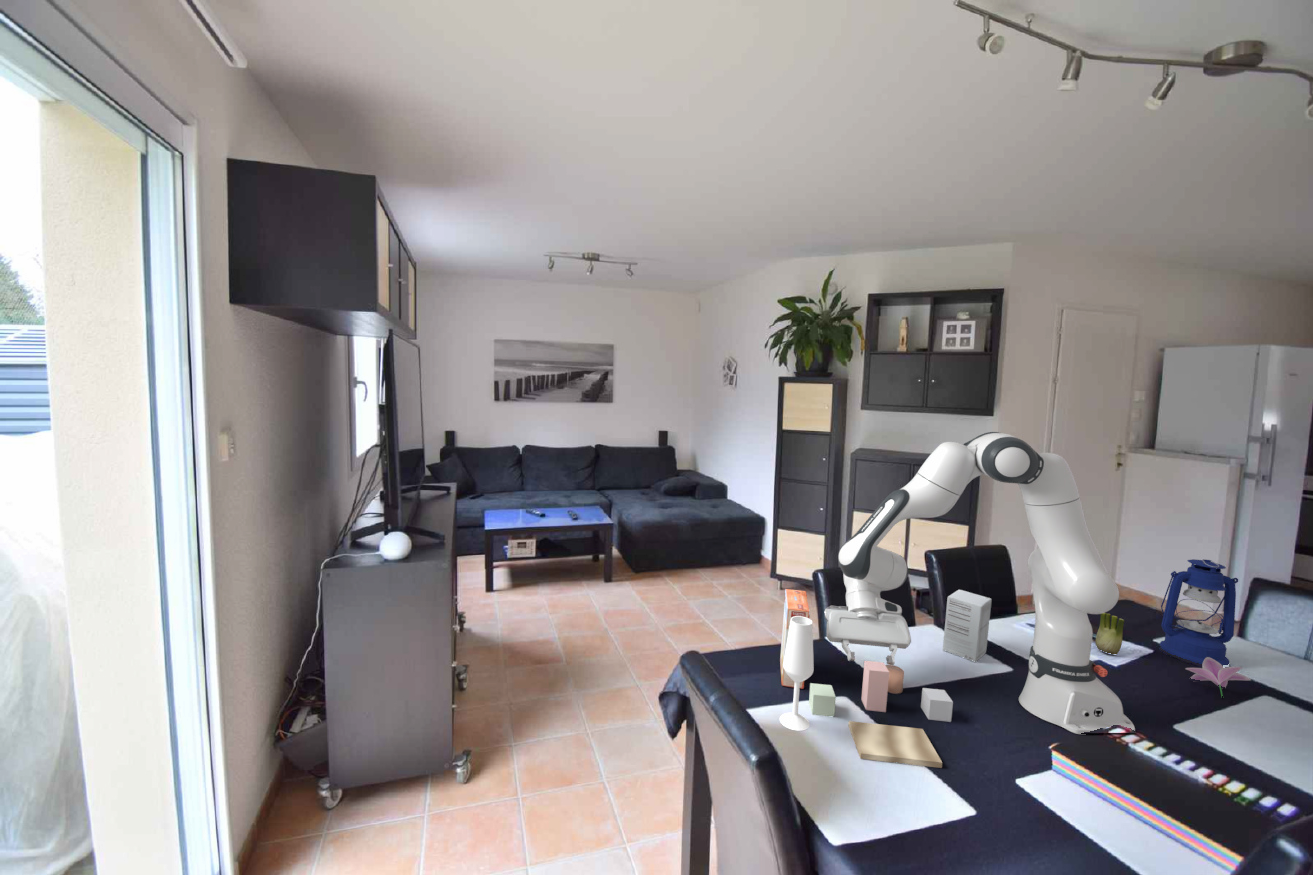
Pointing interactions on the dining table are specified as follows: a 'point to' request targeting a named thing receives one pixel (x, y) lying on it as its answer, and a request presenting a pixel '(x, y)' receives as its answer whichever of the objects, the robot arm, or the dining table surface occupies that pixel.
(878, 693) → the rose block
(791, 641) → the champagne flute
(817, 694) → the sage painted block
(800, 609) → the cracker box
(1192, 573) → the lantern
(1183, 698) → the dining table surface
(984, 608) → the supplement box
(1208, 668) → the lily
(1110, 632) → the fennel bulb
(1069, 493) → the robot arm
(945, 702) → the grey plastic block
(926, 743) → the pine board
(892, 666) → the terracotta cylinder
